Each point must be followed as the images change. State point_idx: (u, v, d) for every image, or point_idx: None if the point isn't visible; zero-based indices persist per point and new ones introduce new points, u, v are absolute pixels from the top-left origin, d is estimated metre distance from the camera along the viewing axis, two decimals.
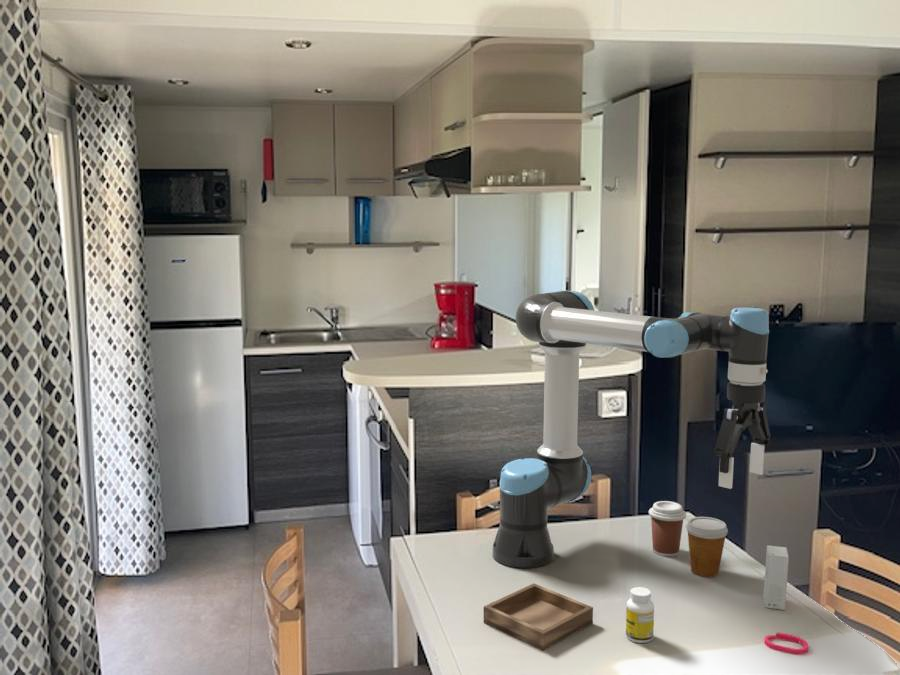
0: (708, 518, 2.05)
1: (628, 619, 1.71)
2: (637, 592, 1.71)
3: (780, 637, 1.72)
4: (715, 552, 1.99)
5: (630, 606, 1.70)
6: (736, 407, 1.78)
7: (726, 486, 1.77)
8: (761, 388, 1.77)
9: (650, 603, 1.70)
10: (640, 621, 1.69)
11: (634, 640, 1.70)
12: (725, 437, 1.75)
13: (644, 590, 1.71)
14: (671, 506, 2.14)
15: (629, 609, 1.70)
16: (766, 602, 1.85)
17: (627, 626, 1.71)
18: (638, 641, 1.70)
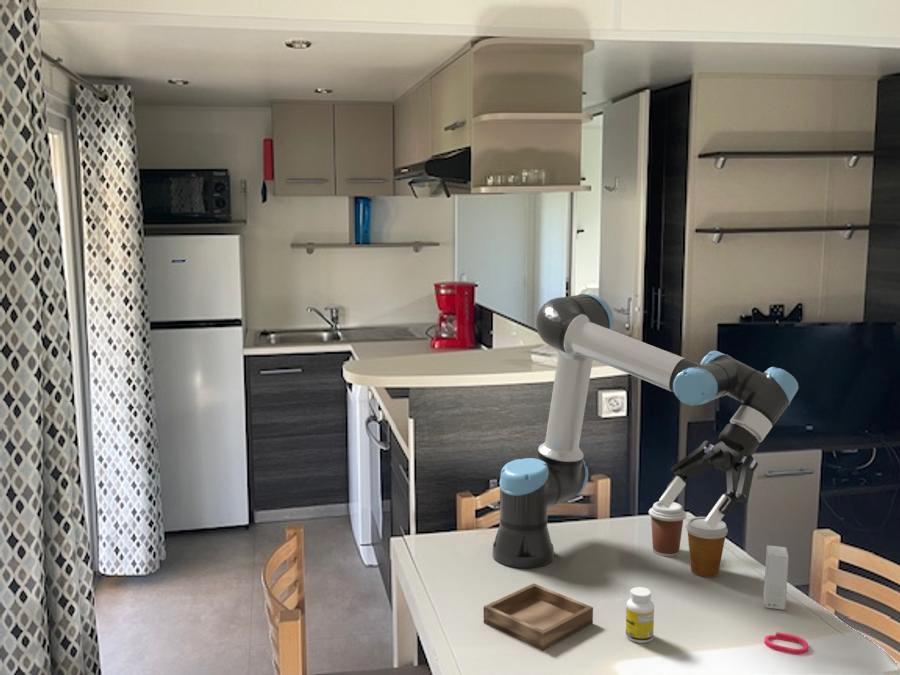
0: None
1: (628, 619, 1.71)
2: (637, 592, 1.71)
3: (780, 637, 1.72)
4: (715, 552, 1.99)
5: (630, 606, 1.70)
6: (743, 455, 1.74)
7: (712, 525, 1.67)
8: None
9: (650, 603, 1.70)
10: (640, 621, 1.69)
11: (634, 640, 1.70)
12: (748, 484, 1.68)
13: (644, 590, 1.71)
14: (671, 506, 2.14)
15: (629, 609, 1.70)
16: (766, 602, 1.85)
17: (627, 626, 1.71)
18: (638, 641, 1.70)
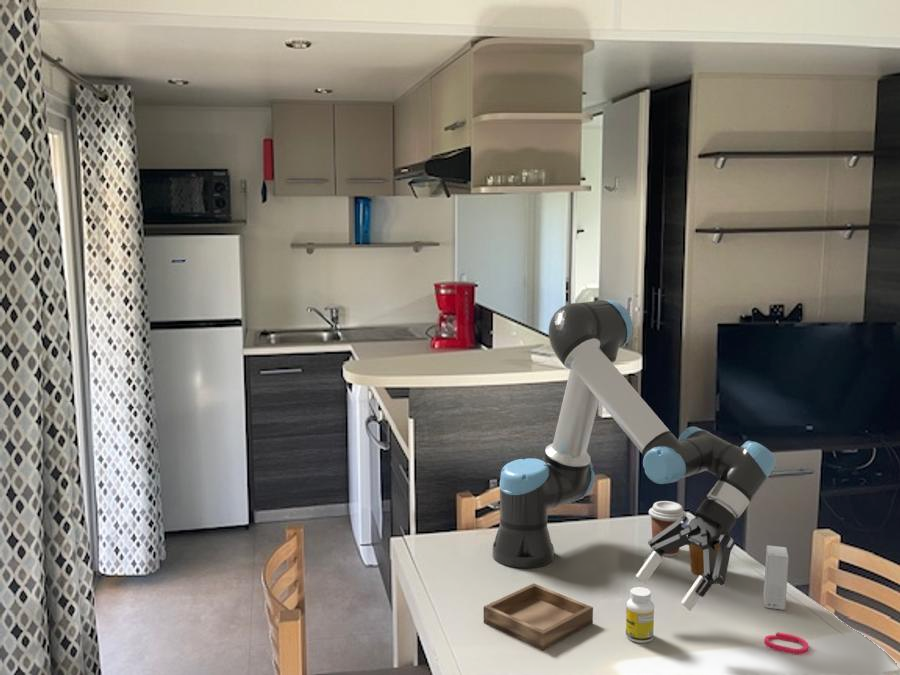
0: None
1: (628, 619, 1.71)
2: (637, 592, 1.71)
3: (780, 637, 1.72)
4: None
5: (630, 606, 1.70)
6: (721, 533, 1.72)
7: (689, 607, 1.66)
8: None
9: (650, 603, 1.70)
10: (640, 621, 1.69)
11: (634, 640, 1.70)
12: (725, 565, 1.67)
13: (644, 590, 1.71)
14: (671, 506, 2.14)
15: (629, 609, 1.70)
16: (766, 602, 1.85)
17: (627, 626, 1.71)
18: (638, 641, 1.70)
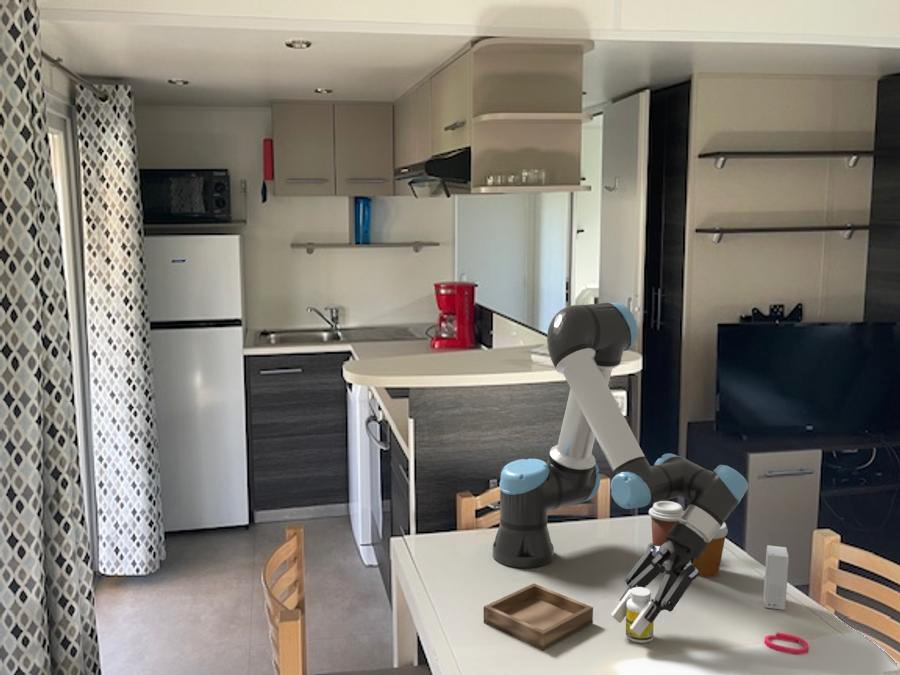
0: None
1: (628, 619, 1.71)
2: (637, 592, 1.71)
3: (780, 637, 1.72)
4: (715, 552, 1.99)
5: (630, 606, 1.70)
6: (690, 558, 1.71)
7: (637, 632, 1.68)
8: None
9: None
10: None
11: (634, 640, 1.70)
12: (679, 594, 1.67)
13: (644, 590, 1.71)
14: (671, 507, 2.14)
15: (628, 609, 1.70)
16: (766, 602, 1.85)
17: (627, 626, 1.71)
18: (638, 641, 1.70)
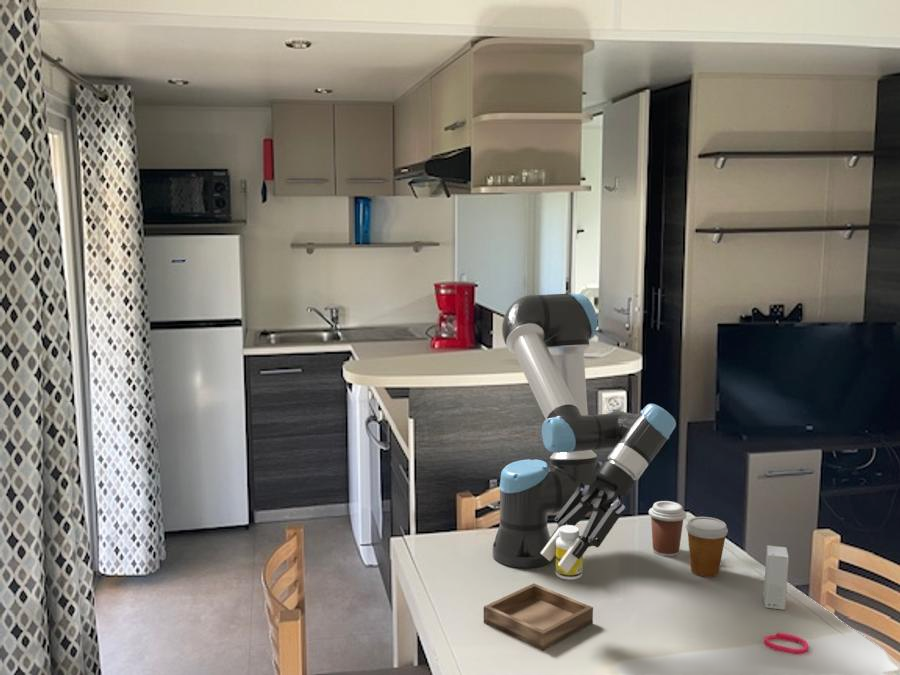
0: (708, 518, 2.05)
1: (557, 556, 1.72)
2: (566, 529, 1.72)
3: (780, 637, 1.72)
4: (715, 552, 1.99)
5: (559, 543, 1.71)
6: (618, 495, 1.72)
7: (565, 569, 1.69)
8: None
9: None
10: None
11: (563, 577, 1.72)
12: (606, 530, 1.69)
13: (572, 527, 1.73)
14: (671, 507, 2.14)
15: (557, 546, 1.72)
16: (766, 602, 1.85)
17: (556, 563, 1.73)
18: (567, 578, 1.71)
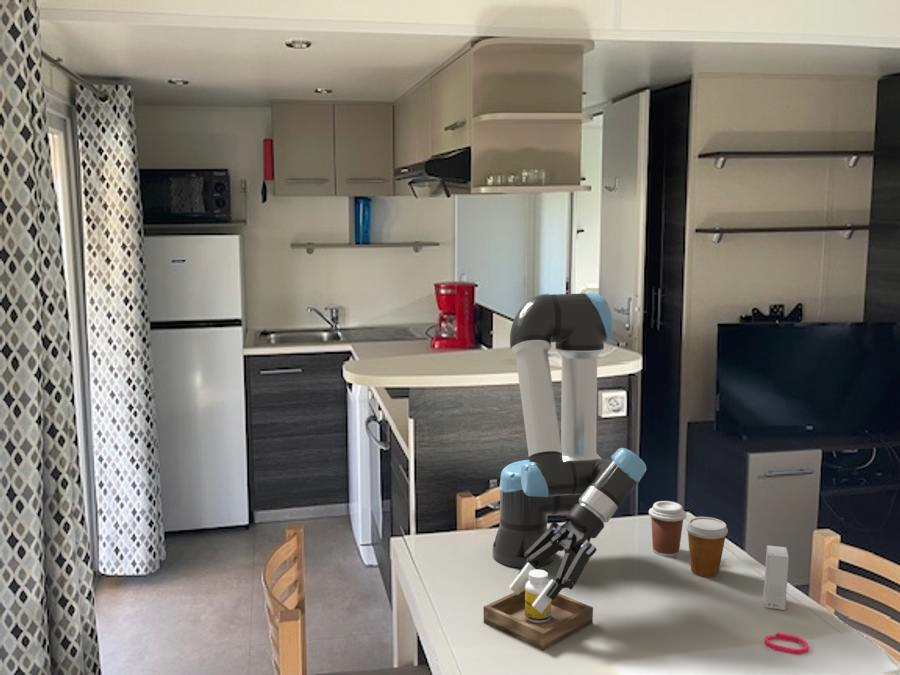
0: (708, 518, 2.05)
1: (526, 600, 1.77)
2: (535, 574, 1.76)
3: (780, 637, 1.72)
4: (715, 552, 1.99)
5: (528, 588, 1.76)
6: (587, 537, 1.76)
7: (539, 610, 1.72)
8: None
9: None
10: None
11: (531, 620, 1.76)
12: (578, 571, 1.72)
13: (542, 572, 1.77)
14: (671, 507, 2.14)
15: (526, 590, 1.76)
16: (766, 602, 1.85)
17: (525, 607, 1.77)
18: (535, 621, 1.76)
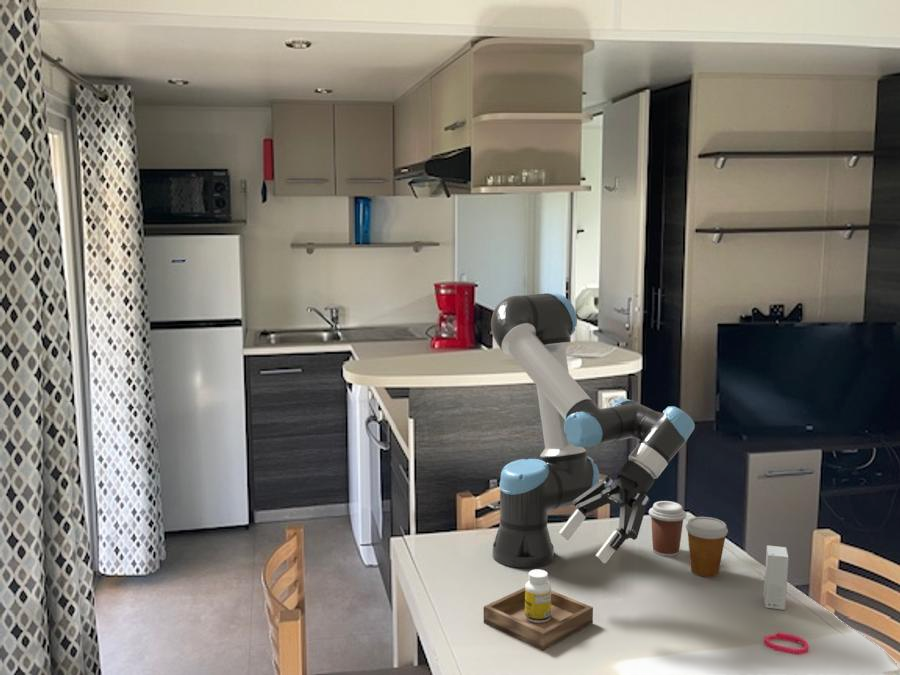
0: (708, 518, 2.05)
1: (526, 600, 1.77)
2: (535, 574, 1.76)
3: (780, 637, 1.72)
4: (715, 552, 1.99)
5: (528, 587, 1.76)
6: (638, 492, 1.81)
7: (603, 560, 1.75)
8: None
9: (547, 584, 1.76)
10: (536, 601, 1.75)
11: (531, 620, 1.76)
12: (639, 521, 1.75)
13: (542, 572, 1.77)
14: (671, 507, 2.14)
15: (526, 590, 1.76)
16: (766, 602, 1.85)
17: (525, 607, 1.77)
18: (535, 621, 1.76)
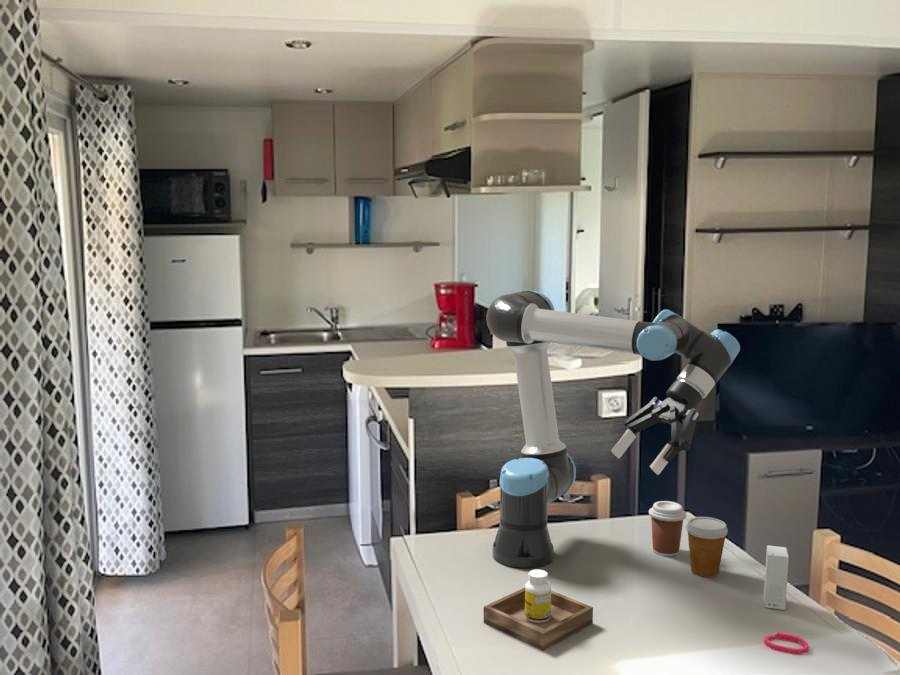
0: (708, 518, 2.05)
1: (526, 600, 1.77)
2: (535, 574, 1.76)
3: (780, 637, 1.72)
4: (715, 552, 1.99)
5: (528, 587, 1.76)
6: (688, 409, 1.89)
7: (657, 471, 1.83)
8: None
9: (547, 584, 1.76)
10: (536, 601, 1.75)
11: (531, 620, 1.76)
12: (690, 434, 1.84)
13: (542, 572, 1.77)
14: (671, 507, 2.14)
15: (526, 590, 1.76)
16: (766, 602, 1.85)
17: (525, 607, 1.77)
18: (535, 621, 1.76)
